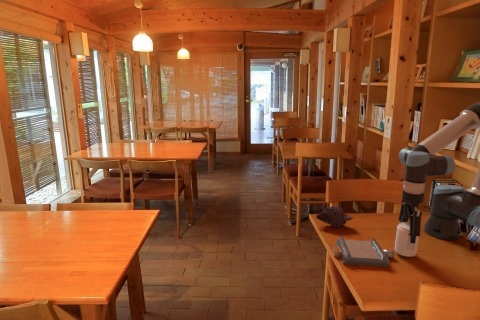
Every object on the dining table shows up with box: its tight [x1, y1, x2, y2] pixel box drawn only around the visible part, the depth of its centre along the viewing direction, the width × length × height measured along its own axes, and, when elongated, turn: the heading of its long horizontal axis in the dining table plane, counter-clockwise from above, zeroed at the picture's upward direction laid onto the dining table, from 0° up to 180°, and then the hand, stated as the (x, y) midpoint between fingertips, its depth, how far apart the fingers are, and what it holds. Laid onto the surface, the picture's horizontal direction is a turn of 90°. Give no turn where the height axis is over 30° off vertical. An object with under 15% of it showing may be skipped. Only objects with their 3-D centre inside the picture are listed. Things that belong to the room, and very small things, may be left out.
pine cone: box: [315, 205, 354, 228], centre depth 163 cm, size 18×10×10 cm, turn 88°
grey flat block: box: [331, 235, 395, 268], centre depth 136 cm, size 23×15×4 cm, turn 85°
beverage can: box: [394, 221, 420, 258], centre depth 136 cm, size 8×8×12 cm
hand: (406, 244), depth 137 cm, fingers closed on beverage can, 8 cm apart
